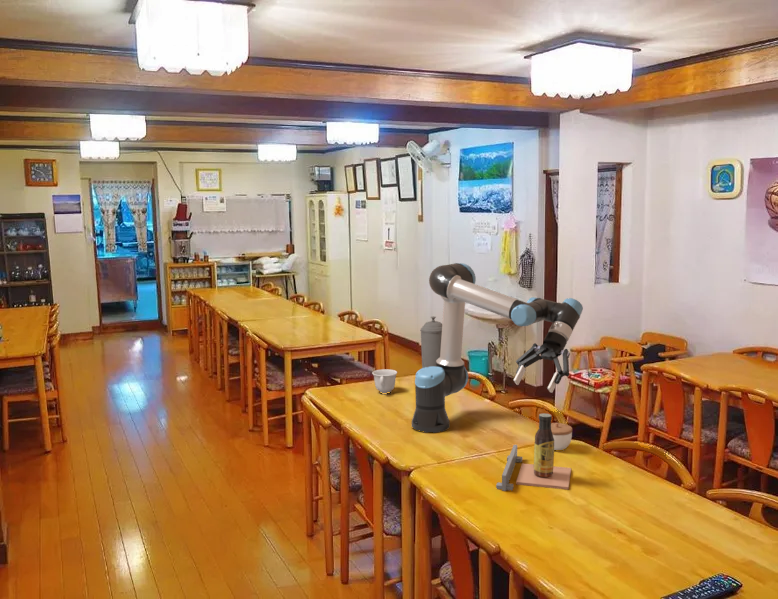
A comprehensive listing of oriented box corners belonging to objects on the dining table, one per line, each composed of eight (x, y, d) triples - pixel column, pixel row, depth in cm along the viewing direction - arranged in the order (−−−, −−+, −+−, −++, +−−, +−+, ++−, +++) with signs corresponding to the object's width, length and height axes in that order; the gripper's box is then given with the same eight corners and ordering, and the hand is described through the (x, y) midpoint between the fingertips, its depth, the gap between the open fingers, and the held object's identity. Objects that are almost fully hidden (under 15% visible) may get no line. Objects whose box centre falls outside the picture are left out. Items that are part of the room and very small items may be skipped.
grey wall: (495, 490, 211) (495, 474, 211) (508, 457, 238) (508, 444, 237) (512, 491, 210) (512, 476, 209) (522, 459, 236) (522, 445, 235)
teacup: (369, 397, 316) (368, 376, 315) (375, 389, 331) (374, 368, 329) (394, 398, 314) (394, 377, 313) (399, 389, 329) (399, 369, 327)
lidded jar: (574, 445, 249) (574, 420, 247) (569, 455, 239) (569, 429, 238) (544, 441, 253) (545, 417, 252) (538, 451, 244) (538, 425, 242)
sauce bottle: (542, 479, 216) (542, 419, 214) (529, 473, 222) (529, 414, 219) (558, 475, 219) (558, 416, 217) (545, 469, 225) (545, 411, 222)
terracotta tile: (516, 484, 215) (516, 481, 215) (522, 465, 230) (522, 463, 230) (568, 489, 210) (568, 487, 210) (570, 470, 226) (571, 468, 225)
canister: (448, 384, 336) (447, 314, 331) (445, 391, 324) (445, 318, 319) (422, 383, 338) (421, 314, 333) (419, 390, 326) (418, 318, 321)
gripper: (523, 325, 248) (498, 373, 239) (586, 336, 230) (560, 387, 222) (531, 338, 252) (506, 385, 244) (593, 348, 235) (568, 400, 226)
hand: (532, 386), depth 233 cm, fingers open, 13 cm apart
